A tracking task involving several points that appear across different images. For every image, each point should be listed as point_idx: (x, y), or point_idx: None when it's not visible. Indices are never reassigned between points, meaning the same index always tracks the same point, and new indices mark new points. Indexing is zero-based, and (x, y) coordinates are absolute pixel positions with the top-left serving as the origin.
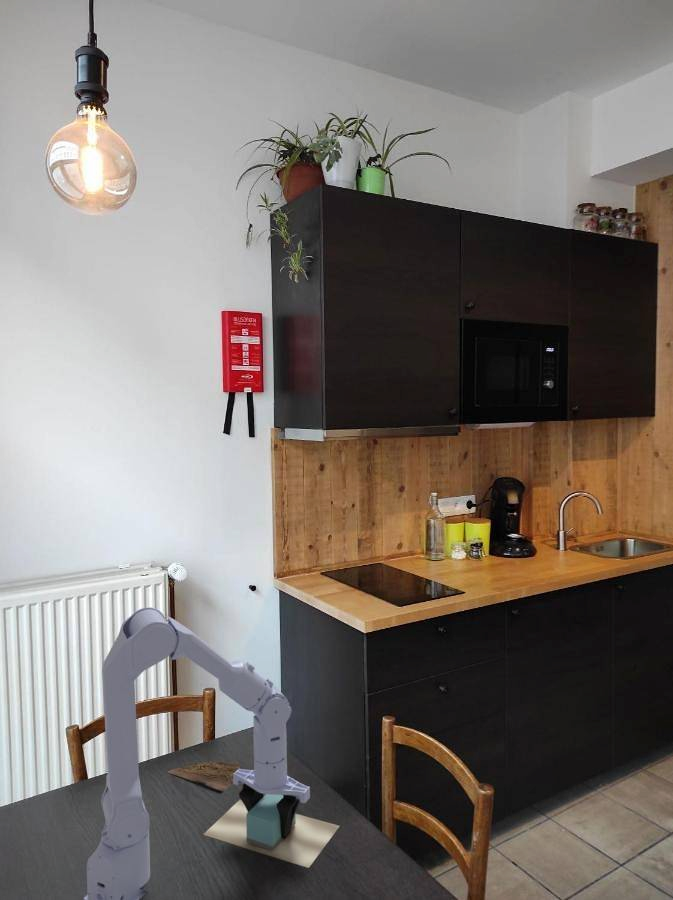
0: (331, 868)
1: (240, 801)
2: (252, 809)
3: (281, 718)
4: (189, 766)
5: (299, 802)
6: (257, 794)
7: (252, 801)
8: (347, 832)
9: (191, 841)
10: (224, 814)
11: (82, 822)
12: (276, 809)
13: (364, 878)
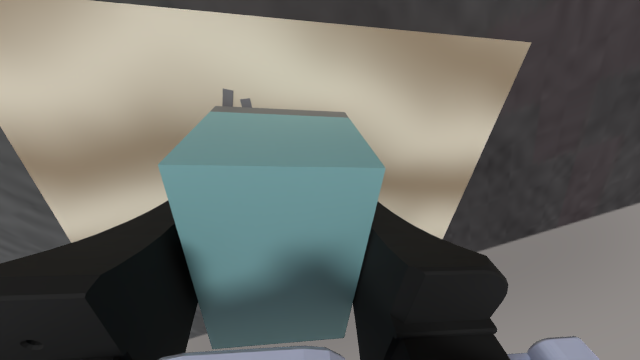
0: (476, 197)
1: None
2: (212, 325)
3: None
4: None
5: (440, 240)
6: (163, 321)
7: (182, 340)
8: (534, 17)
9: (64, 244)
10: (18, 152)
11: None
12: (321, 288)
13: (556, 198)
